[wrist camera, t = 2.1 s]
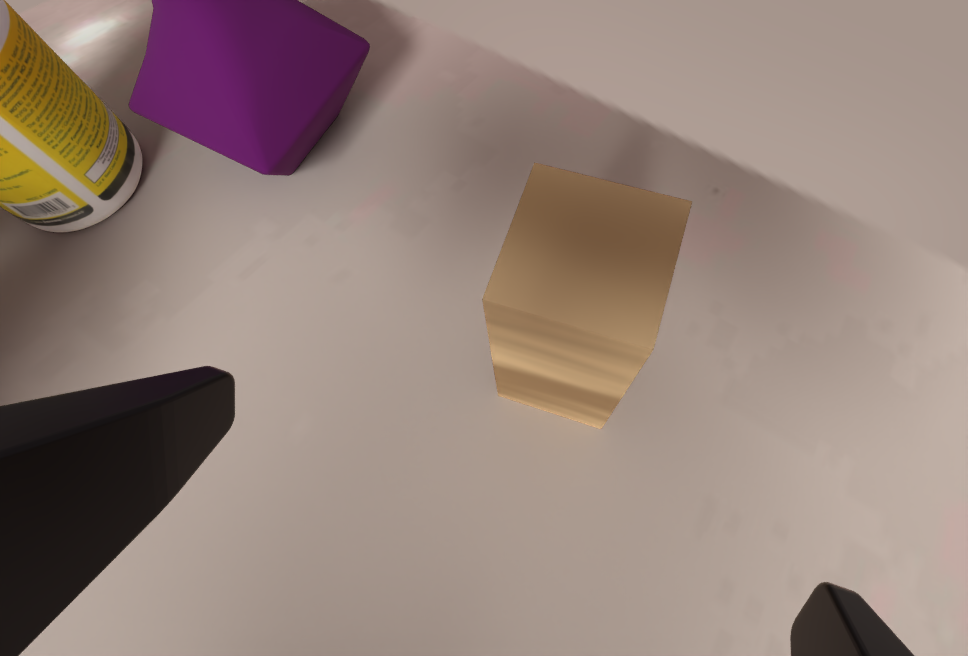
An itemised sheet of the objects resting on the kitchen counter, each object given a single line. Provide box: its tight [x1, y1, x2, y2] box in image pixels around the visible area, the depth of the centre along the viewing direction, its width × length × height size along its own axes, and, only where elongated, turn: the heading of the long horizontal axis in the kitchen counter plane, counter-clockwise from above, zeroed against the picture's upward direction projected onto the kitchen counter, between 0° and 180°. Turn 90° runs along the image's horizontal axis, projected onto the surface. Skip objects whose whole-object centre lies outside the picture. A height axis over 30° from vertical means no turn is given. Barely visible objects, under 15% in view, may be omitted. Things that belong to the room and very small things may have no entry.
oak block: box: [482, 163, 692, 429], centre depth 18 cm, size 4×4×9 cm
